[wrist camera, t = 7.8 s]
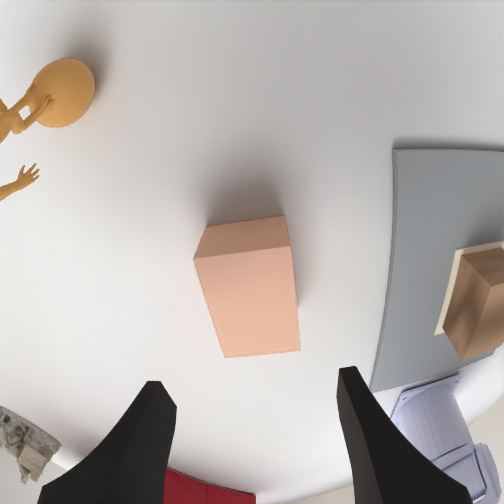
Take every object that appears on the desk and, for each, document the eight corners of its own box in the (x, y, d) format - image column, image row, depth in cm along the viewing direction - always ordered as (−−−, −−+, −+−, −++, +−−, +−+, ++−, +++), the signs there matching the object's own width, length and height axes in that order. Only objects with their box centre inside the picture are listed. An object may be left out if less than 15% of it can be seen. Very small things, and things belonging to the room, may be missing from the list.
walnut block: (480, 316, 19) (501, 345, 16) (442, 327, 20) (461, 361, 16) (500, 247, 16) (530, 274, 13) (460, 255, 17) (491, 286, 13)
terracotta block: (294, 308, 20) (300, 350, 17) (229, 315, 20) (224, 357, 17) (284, 214, 17) (290, 246, 13) (206, 225, 17) (192, 258, 14)
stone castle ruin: (69, 449, 42) (47, 499, 28) (42, 442, 46) (22, 483, 33) (16, 403, 36) (-15, 454, 23) (-2, 402, 41) (-27, 443, 27)
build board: (490, 351, 23) (493, 355, 22) (368, 388, 25) (370, 393, 24) (543, 155, 13) (549, 157, 12) (392, 149, 14) (397, 151, 14)
